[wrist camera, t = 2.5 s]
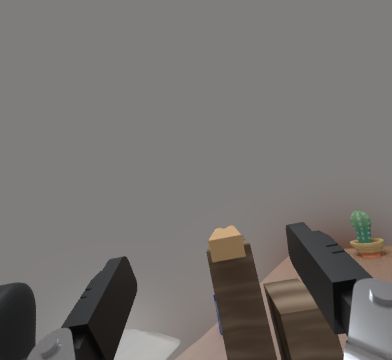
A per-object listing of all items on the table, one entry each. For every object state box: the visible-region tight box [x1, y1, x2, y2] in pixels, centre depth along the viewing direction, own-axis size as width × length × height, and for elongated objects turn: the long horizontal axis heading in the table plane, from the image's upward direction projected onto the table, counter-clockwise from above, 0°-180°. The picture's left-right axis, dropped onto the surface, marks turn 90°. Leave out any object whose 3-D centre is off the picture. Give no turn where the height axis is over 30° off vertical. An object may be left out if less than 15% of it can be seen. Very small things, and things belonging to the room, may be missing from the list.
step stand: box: [207, 236, 344, 360], centre depth 37 cm, size 14×16×32 cm
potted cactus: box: [350, 210, 384, 258], centre depth 119 cm, size 15×15×25 cm
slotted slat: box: [208, 226, 246, 262], centre depth 37 cm, size 24×4×2 cm, turn 172°
